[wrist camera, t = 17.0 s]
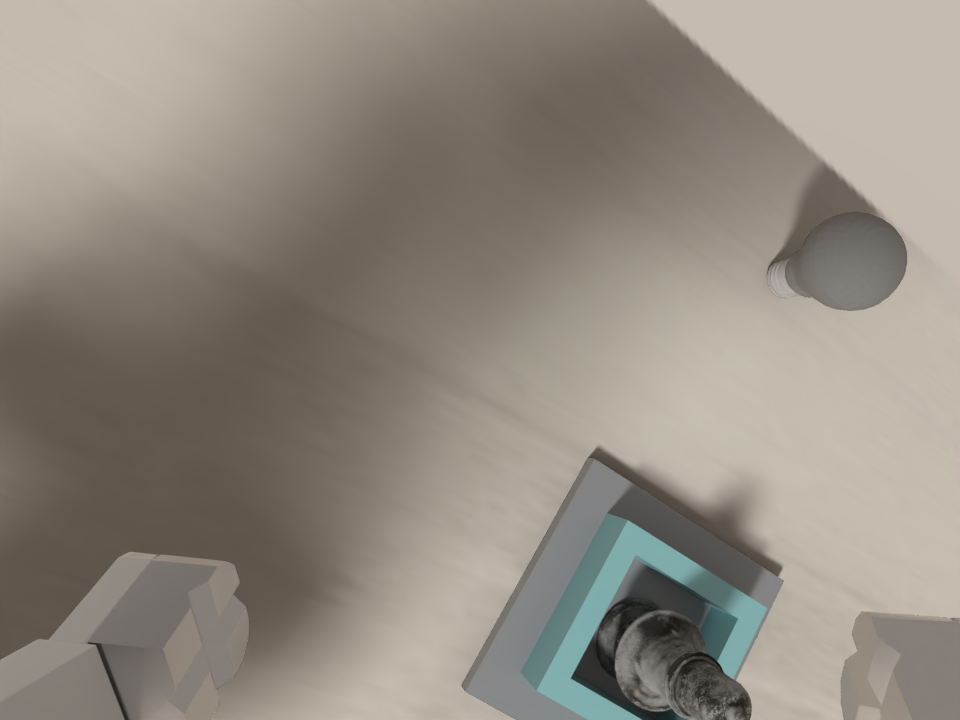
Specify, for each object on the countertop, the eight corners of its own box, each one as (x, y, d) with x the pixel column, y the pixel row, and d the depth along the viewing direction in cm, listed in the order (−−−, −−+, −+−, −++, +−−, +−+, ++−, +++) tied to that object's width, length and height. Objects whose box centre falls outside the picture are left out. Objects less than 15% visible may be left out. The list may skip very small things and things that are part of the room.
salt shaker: (638, 706, 47) (750, 811, 36) (573, 649, 46) (667, 737, 35) (694, 632, 48) (821, 710, 37) (631, 574, 47) (741, 635, 36)
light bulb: (829, 292, 54) (948, 267, 44) (771, 339, 52) (881, 324, 43) (786, 222, 53) (897, 181, 44) (726, 267, 52) (827, 236, 42)
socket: (666, 799, 48) (699, 833, 44) (461, 685, 45) (477, 711, 42) (774, 577, 51) (814, 591, 47) (588, 457, 48) (614, 462, 45)
